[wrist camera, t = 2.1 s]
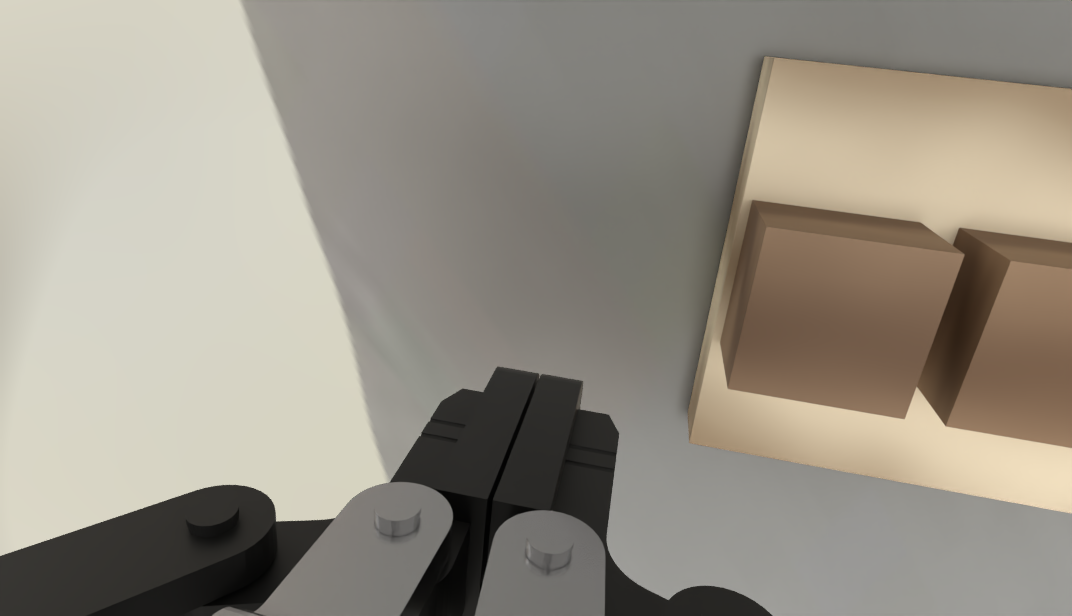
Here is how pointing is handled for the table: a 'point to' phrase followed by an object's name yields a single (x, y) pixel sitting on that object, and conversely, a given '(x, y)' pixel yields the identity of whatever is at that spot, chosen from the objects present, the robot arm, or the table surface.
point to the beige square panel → (906, 194)
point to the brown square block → (835, 307)
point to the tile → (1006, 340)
